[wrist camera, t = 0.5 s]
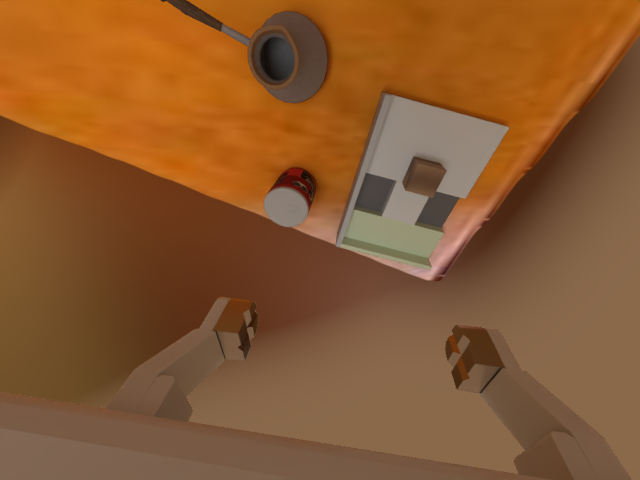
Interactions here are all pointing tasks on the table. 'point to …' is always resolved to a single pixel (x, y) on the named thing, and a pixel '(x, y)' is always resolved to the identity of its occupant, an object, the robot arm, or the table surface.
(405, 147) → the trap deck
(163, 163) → the table surface
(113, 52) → the table surface
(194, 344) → the robot arm
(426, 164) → the walnut block
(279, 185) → the canned food
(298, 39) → the coffee pot
